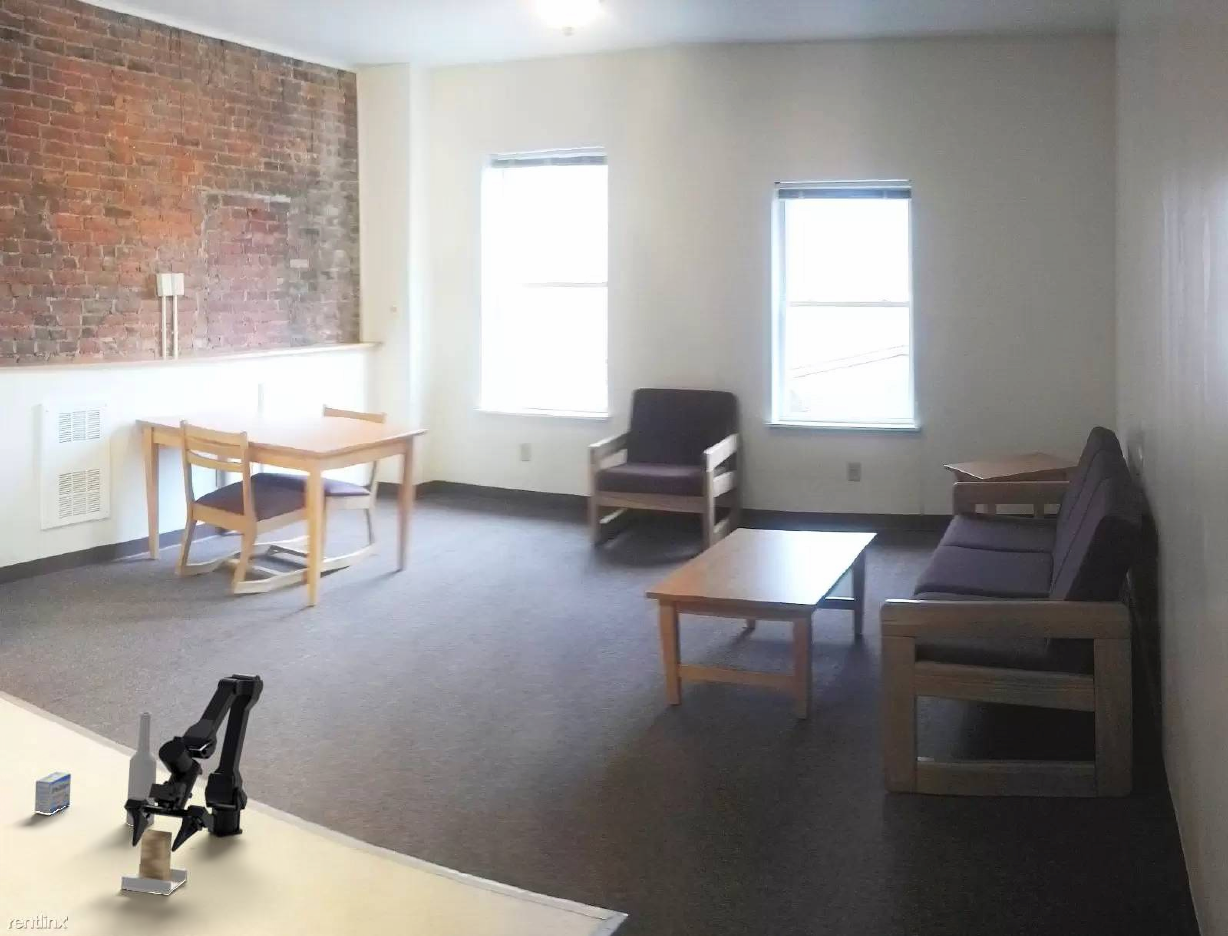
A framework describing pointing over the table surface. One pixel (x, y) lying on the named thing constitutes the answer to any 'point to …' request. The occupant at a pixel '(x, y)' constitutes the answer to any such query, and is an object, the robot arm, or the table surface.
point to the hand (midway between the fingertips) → (152, 848)
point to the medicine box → (52, 792)
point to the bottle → (142, 767)
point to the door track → (154, 882)
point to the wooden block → (155, 855)
